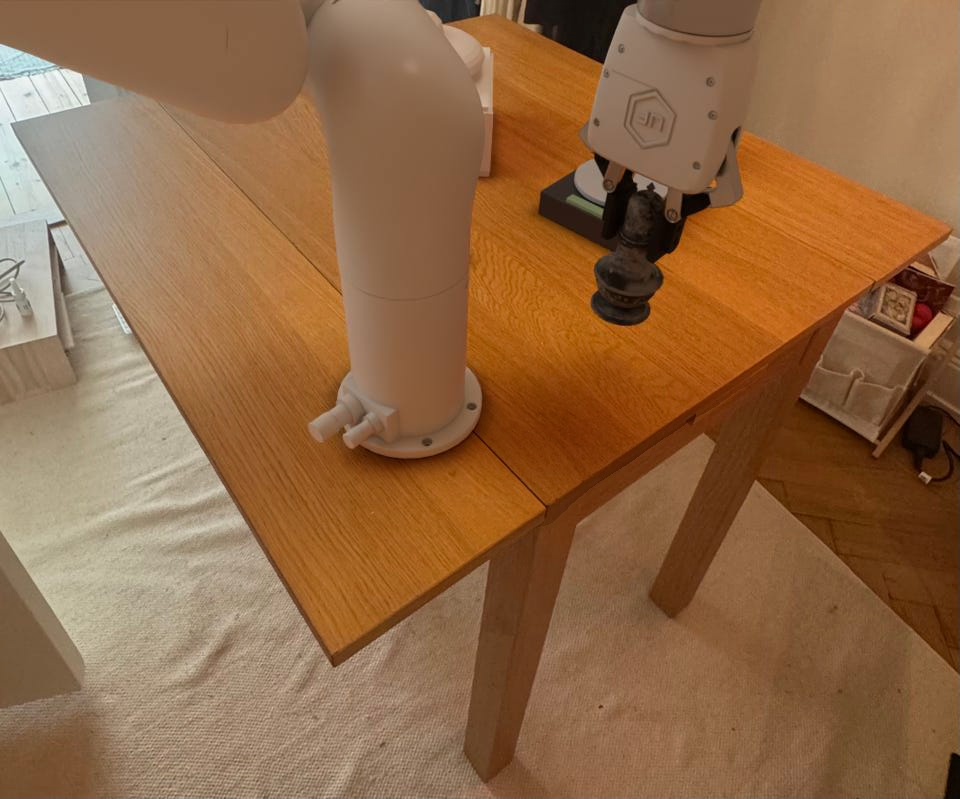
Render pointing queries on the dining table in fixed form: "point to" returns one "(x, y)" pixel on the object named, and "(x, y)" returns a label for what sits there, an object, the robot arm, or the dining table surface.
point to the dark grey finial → (630, 265)
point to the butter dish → (475, 77)
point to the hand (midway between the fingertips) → (636, 242)
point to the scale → (585, 201)
